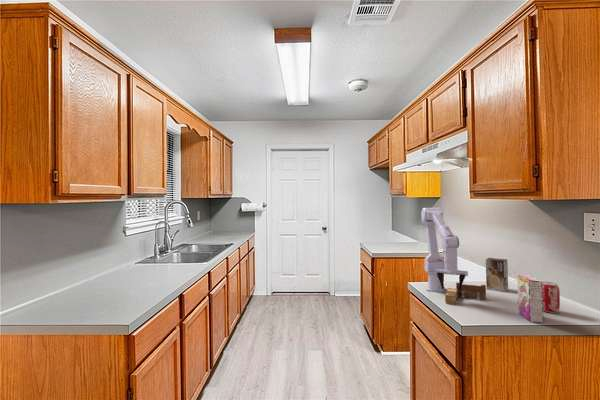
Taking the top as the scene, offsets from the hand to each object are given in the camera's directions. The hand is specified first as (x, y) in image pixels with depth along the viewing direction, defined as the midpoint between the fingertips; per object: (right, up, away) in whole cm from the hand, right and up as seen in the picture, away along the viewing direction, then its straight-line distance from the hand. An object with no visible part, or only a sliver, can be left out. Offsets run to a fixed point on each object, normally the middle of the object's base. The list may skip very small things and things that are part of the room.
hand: (451, 289), depth 167 cm
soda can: (+34, -5, -19) cm, 39 cm away
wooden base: (+11, -5, +2) cm, 12 cm away
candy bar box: (+20, -5, -26) cm, 34 cm away
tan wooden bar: (0, -5, 0) cm, 5 cm away
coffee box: (+32, -5, +17) cm, 37 cm away
